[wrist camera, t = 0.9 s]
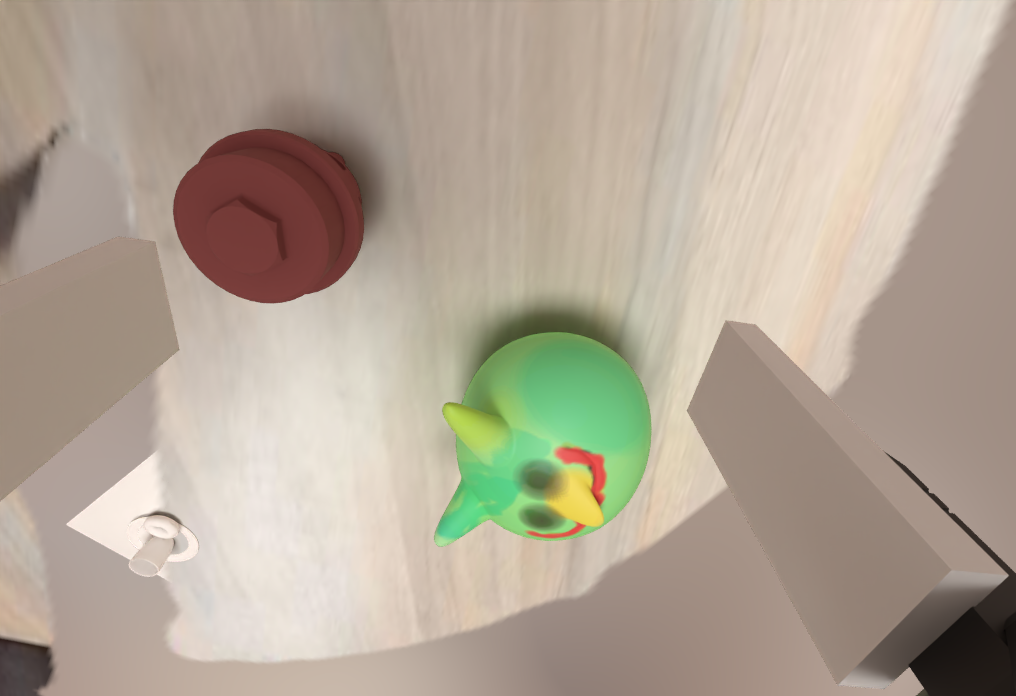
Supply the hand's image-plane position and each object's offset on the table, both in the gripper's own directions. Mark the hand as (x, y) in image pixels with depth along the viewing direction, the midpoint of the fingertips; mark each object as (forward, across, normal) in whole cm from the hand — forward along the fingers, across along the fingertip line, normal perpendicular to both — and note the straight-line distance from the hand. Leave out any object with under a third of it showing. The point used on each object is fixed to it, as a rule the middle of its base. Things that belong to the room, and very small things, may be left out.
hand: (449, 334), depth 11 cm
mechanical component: (+27, -12, -4) cm, 30 cm away
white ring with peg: (+28, -29, -47) cm, 62 cm away
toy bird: (+27, +8, -20) cm, 34 cm away
